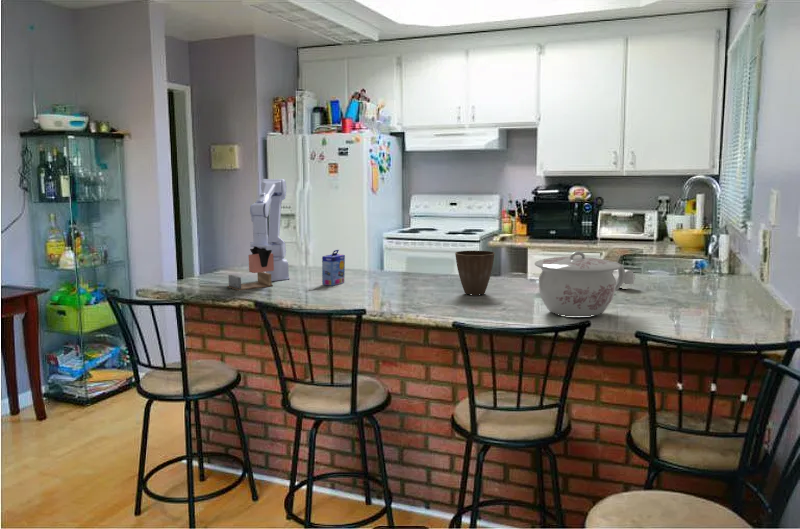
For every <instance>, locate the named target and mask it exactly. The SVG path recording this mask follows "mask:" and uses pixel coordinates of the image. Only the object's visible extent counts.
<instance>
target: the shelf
mask: <svg viewBox="0 0 800 529" xmlns="http://www.w3.org/2000/svg"><path fill="white" fill-rule="evenodd" d="M228 287H229V289H231V288H232V290H234V289H235V290H234V291H237V290H238V291H239V290H240V291H247V290H252V289H253V290H254V289H262V287H263V288H269V287H273V284H272V281H271V274H269V273H266V272H258V273H257V281H256V282H247V283H241V289H237V288H234V287H231V286H229V285H227V288H228ZM246 289H247V290H246Z"/></svg>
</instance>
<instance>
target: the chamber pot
mask: <svg viewBox="0 0 800 529" xmlns="http://www.w3.org/2000/svg"><path fill="white" fill-rule="evenodd" d="M534 265H535V266H536V267H538V268H540V269H541V272H540V274H539V275H538V288H539V289H538V290H539V296H540V299H541V300H542V302H543V303H544V305H545V307H546V308H547V310H548V311H549V312H550V313H553V314H554V313H555V315H557V314H559V315H565V316H591V315H597V314H600V313H602V314H603V313H604V312H605V311H606V310H607V309H608V307H609V306H610V305H611V303H612V302H613V300H614V296H615V293H616V292H617V291H618V290H620V289H619V288H620V286H621V285H622V284H623V282H624V279H625V270H626V269H625V268H624V266H623V265H622V264H621V263H620V262H619V261H618V262H614V261H612V260H608V259H603V258H600V257H599V258H597V257H590V256H586V254H584V253H583V252H581V251H574V252H572V254H570V256H557V257H556V256H555V257H548V258H544V259H543V258H542V259H539V260H537V261H535V262H534ZM614 270H618V272H619V276H618V279H617V282H616V280H615V278H614V276H613V274H612V273H613V271H614ZM559 315H558V316H559ZM600 315H601V314H600ZM597 316H598V315H597Z"/></svg>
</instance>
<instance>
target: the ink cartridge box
mask: <svg viewBox="0 0 800 529" xmlns="http://www.w3.org/2000/svg"><path fill="white" fill-rule="evenodd" d="M339 251H340V249H335V250H333V251H332V253H331V254H326V255H323V256H322V258H321V262H322V264H321V265H322V266H321V269H322V270H321V271H322V273H321V275H322V276H321V277H322V278H321V280H322V281H321V282H322V285H323V286H329V287H333V286H337V285H340V284H344V283H345V276H346V275H345V274H346V273H345V266H346V265H345V261H346V256H345V254H341V253H339Z"/></svg>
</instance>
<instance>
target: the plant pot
mask: <svg viewBox="0 0 800 529" xmlns="http://www.w3.org/2000/svg"><path fill="white" fill-rule="evenodd" d="M495 253H496V252H493V251H488V250H461V251H455V252H454V255H455V262H456V268H457V272H458V276H459V281H460V283H461V285H462V288H463V289H462V290H463V291H464V294H465V293H466V294H472V295H477V296H480V295H479V294H484V293H486V292H487V291H486V290H487V288H488V285H489V282H490V278H491V276H492V271H493V266H494V259H495ZM466 294H465V295H466ZM472 295H471V296H472ZM484 295H485V294H484Z"/></svg>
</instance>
